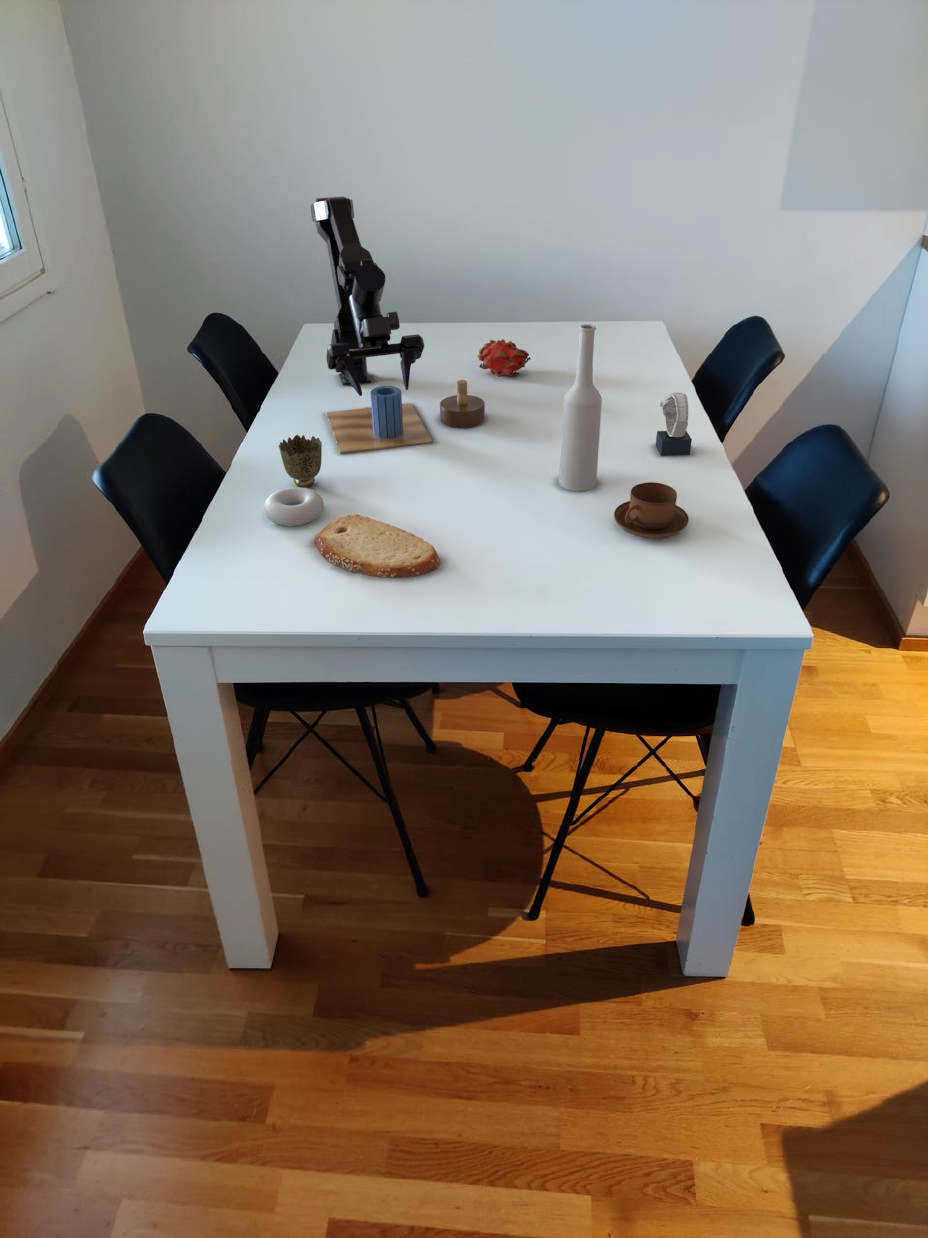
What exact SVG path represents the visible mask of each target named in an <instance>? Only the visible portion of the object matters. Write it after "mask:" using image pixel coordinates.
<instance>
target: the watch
mask: <svg viewBox="0 0 928 1238" xmlns="http://www.w3.org/2000/svg"><path fill="white" fill-rule="evenodd" d="M658 406H659V407H661V411H662V415H663V417H664V423H665V429H666V430H657V431H656V438H655V448H656V450H657V452H658V454H659V455H660V457H669V456H690V455H691V448H692V441H693V439H692V437H691V436H690V434H689V433H688V431H687V430H688V426H689V421H688V420H689V401H688V396H687V394H686V393H683V392H672V393H669V394H667V395H665V396H664V397H663V398H662V399H661V401H659V403H658Z"/></svg>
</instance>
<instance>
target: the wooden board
mask: <svg viewBox="0 0 928 1238" xmlns="http://www.w3.org/2000/svg"><path fill="white" fill-rule="evenodd" d="M325 415H326V418H327V421H328V423H329V426H330V429H331V432H332V434H333V437H334V440H335V443H336V445H337V448H338V451H339V454H340V455H342V454H350V453H352V454H353V453H359V452H366V451H367V452H369V451H375V450H376V451H377V450H384V449H394V448H400V447H409V446H419V445H426V444H433V440H432V438H431V436H430V434H429V433H428V431H427V429H426V427H425V425H424V424H423V422H422V420H421V418H420V417H419V415H418V413H417V411H416V410H415V407H414V406H413V404H412V402H409V403H402V415H403V433H402V435H400V436H398V437H395V438H381V437H380V438H379V437H377V436H375V435H374V433H373V420H372V407H363V408H355V409H346V410H345V409H344V410H336V411H328V412H325Z"/></svg>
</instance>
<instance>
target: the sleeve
mask: <svg viewBox="0 0 928 1238" xmlns="http://www.w3.org/2000/svg"><path fill="white" fill-rule="evenodd" d="M369 392H370V403H371V405H370V406H371V408H372V420H373V433H374V435H375V436H377V437H379V438H380V437H381V438H395V437H398V436H400V435H402V433H403V415H402V404H403V399H402V398H403V397H402V390H401V388H399V387H397V386H393V385H380V386H376V387H373V388H372V389H371V390H370V391H369Z"/></svg>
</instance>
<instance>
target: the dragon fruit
mask: <svg viewBox="0 0 928 1238" xmlns="http://www.w3.org/2000/svg"><path fill="white" fill-rule="evenodd" d="M477 359H478V361H480V362H482V363H480V364H479V368H480V369H482V370H490V374H491V375H496V376H497V378H499V377H502V375H505V376H510V377H516V376H518V375H520V374H521V373H520V372H517V371H519V370H521V369H522V368H526V367H525V366H526V364H527V363H528V362H529V361H530V360H531V356H530V354H529V352H528V351H527V350H524V349H521V348H518V347H517V346H516V343H515V342H513V341H511V340H509V341H507V342H506V340H505V339H503V338H502V339H501V340H500V339H498V340H494V339H490V340H489V342H487V343H484V344H483V347H481V348H479V351H478V354H477Z"/></svg>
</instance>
